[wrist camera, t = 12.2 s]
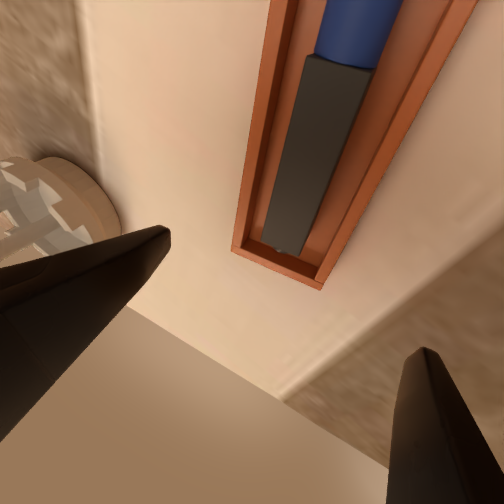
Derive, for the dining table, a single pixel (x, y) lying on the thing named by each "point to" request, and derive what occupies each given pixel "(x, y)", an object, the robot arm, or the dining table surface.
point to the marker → (325, 114)
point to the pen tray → (362, 135)
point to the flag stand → (52, 207)
